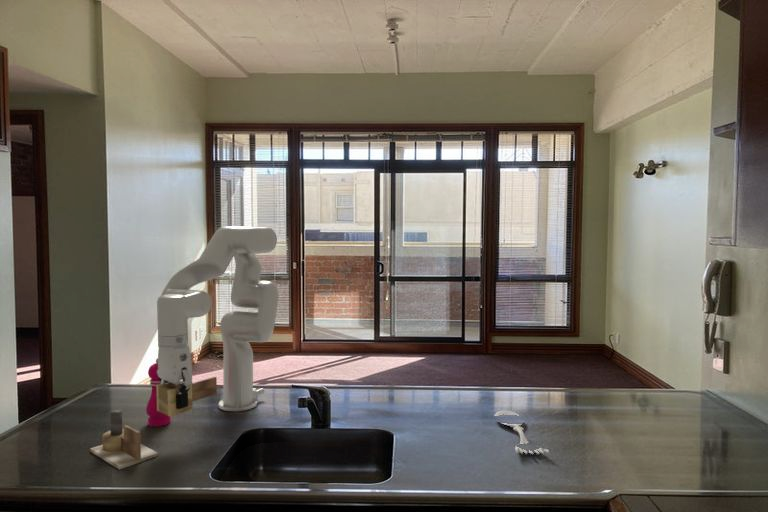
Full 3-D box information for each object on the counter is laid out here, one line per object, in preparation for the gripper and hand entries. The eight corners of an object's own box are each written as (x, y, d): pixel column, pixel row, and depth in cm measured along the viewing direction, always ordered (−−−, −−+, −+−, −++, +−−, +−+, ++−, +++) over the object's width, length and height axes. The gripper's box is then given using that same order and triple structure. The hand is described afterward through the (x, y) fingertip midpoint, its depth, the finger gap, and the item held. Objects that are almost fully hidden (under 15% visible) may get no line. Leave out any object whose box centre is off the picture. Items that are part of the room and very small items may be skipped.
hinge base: (90, 451, 139) (89, 413, 138) (127, 439, 147) (127, 403, 146) (119, 469, 129) (118, 428, 128) (158, 455, 137) (157, 417, 136)
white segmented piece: (516, 462, 138) (516, 449, 138) (491, 417, 170) (491, 407, 170) (550, 462, 138) (550, 450, 138) (519, 418, 170) (519, 407, 170)
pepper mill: (162, 428, 155) (162, 361, 154) (141, 426, 156) (140, 360, 155) (177, 419, 162) (176, 355, 161) (156, 417, 164) (155, 354, 162)
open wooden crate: (209, 394, 156) (208, 371, 155) (222, 399, 152) (222, 375, 151) (157, 410, 143) (156, 385, 143) (170, 416, 139) (169, 390, 139)
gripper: (204, 342, 140) (205, 407, 141) (168, 332, 150) (170, 393, 152) (177, 348, 134) (179, 416, 135) (143, 337, 144) (145, 400, 146)
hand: (174, 403), depth 144 cm, fingers closed on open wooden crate, 6 cm apart
